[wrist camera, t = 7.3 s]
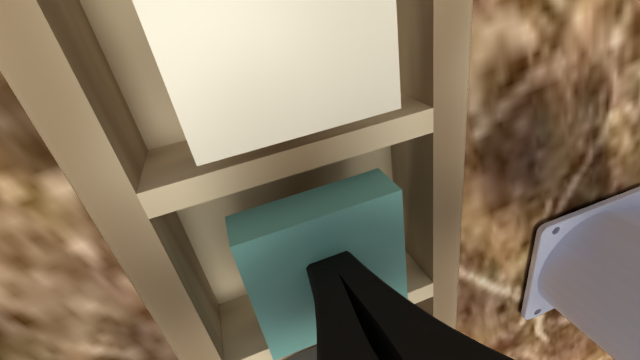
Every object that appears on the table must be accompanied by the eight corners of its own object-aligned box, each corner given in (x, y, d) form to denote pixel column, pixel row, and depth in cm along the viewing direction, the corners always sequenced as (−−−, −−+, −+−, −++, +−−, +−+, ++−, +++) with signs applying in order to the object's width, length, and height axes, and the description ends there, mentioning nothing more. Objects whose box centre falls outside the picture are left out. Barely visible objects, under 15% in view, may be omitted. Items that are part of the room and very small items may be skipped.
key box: (403, -212, 10) (488, -294, 7) (420, 338, 22) (452, 387, 19) (-63, -171, 7) (-208, -265, 5) (245, 414, 20) (253, 481, 17)
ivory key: (327, -116, 9) (388, -166, 6) (351, 81, 11) (401, 108, 9) (118, -87, 8) (81, -130, 5) (195, 122, 10) (196, 166, 8)
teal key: (357, 148, 13) (401, 189, 10) (369, 251, 15) (408, 306, 13) (220, 189, 12) (229, 247, 9) (257, 292, 14) (273, 361, 12)
